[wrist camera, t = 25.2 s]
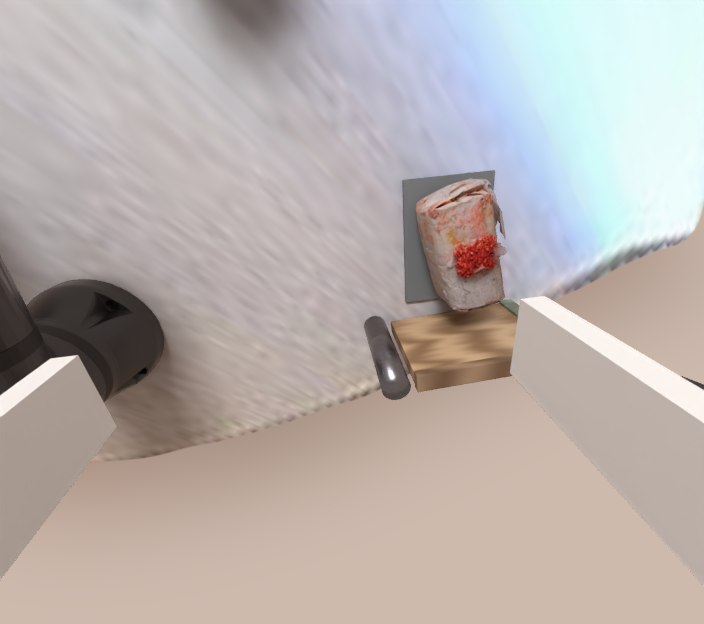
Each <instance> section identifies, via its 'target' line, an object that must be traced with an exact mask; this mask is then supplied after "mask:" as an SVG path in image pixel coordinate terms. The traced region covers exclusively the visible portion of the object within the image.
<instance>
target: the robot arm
mask: <svg viewBox="0 0 704 624" xmlns="http://www.w3.org/2000/svg"><path fill="white" fill-rule="evenodd" d="M163 343H164V342H163V334H162V330H161V327H160V325H159V323H158V321H157V319H156V318H155V316H154V315H153V313H152V312H151V311H150V310H149V308H148V307H147V306H146V305H145V304H144V303H143V302H141V301H140V300H139V299H138V298H136V297H135V296H134V295H132V294H131V293H129V292H127V291H125V290H124V289H121V288H119V287H117V286H115V285H112V284H109V283H105V282H101V281H96V280H72V281H67V282H63V283H61V284H58V285H56V286H54V287H52V288H50V289H47V290H45V291H43V292H42V293H40V294H39V295H37V296H36V297H35V298H33V299H32V300H31V301H30V303H29V304H28V305H27V306H26V305H25V303H24V301H23V299H22V297H21V295H20V293H19V291H18V289H17V288H16V286H15V284H14V282H13V280H12V278H11V276H10V274H9V272H8V270H7V268H6V266H5V264H4V262H3V260H2V258H1V256H0V579H1V578H2V577H3V576H4V574H5V573H6V572H7V571H8V569H9V568H10V567H11V565H12V564H13V563H14V561H15V560H16V559H17V557H18V556H19V554H20V553H21V552H22V551H23V549H24V548H25V547H26V546H27V544H28V543H29V542H30V540H31V539H32V538H33V536H34V535H35V534H36V532H37V531H38V530H39V529H40V527H41V526H42V524H43V523H44V522H45V521H46V519H47V518H48V517H49V515H50V514H51V513H52V511H53V510H54V509H55V508H56V506H57V505H58V504H59V502H60V501H61V500H62V498H63V497H64V496H65V494H66V493H67V492H68V490H69V489H70V488H71V487H72V485H73V484H74V483H75V481H76V480H77V479H78V477H79V476H80V475H81V473H82V472H83V471H84V469H85V468H86V467H87V466H88V464H89V463H90V462H91V460H92V459H93V458H94V456H95V455H96V454H97V452H98V451H99V450H100V448H101V447H102V446H103V445H104V443H105V442H106V441H107V439H108V438H109V437H110V435H111V434H112V433H113V431H114V430H115V429H116V427H117V426H116V424H115V422H114V420H113V419H112V417H111V415H110V413H109V411H108V409H107V407H106V406H105V404H104V402H105V401H106V400H107V399H109V398H111V397H112V396H114V395H116V394H118V393H120V392H122V391H124V390H125V389H127V388H129V387H131V386H133V385H135V384H136V383H138V382H140V381H141V380H142V379H144V378H145V377H146V376H147V375H148V374H149V373H150V372H151V370H152V369H153V368H154V367H155V365H156V364H157V363H158V361H159V359H160V357H161V355H162V352H163ZM510 374H511V375H512V376H513V377H514V378H515V379H516V380H517V381H518V382H519V384H520V385H521V386H522V387H523V388H524V389H525V390H526V391H527V392H528V393H529V395H531V397H532V398H533V399H534V400H535V401H536V402H537V403H538V404H539V406H540V407H541V408H542V409H543V410H544V411H545V412H546V413H547V414H548V415H549V416H550V418H551V419H552V420H553V421H554V422H555V423H556V424H557V425H558V426H559V427H560V428H561V430H562V431H563V432H564V433H565V434H566V435H567V436H568V437H569V438H570V439H571V441H572V442H573V443H574V444H575V445H576V446H577V447H578V448H579V449H580V450H581V452H582V453H583V454H584V455H585V456H586V457H587V458H588V459H589V460H590V461H591V463H592V464H593V465H594V466H595V467H596V468H597V469H598V470H599V471H600V473H601V474H602V475H603V476H604V477H605V478H606V479H607V480H608V481H609V482H610V484H611V485H612V486H613V487H614V488H615V489H616V490H617V491H618V492H619V493H620V494H621V495H622V497H623V498H624V499H625V500H626V501H627V502H628V503H629V504H630V505H631V506H632V508H633V509H634V510H635V511H636V512H637V513H638V514H639V515H640V516H641V518H642V519H643V520H644V521H645V522H646V523H647V524H648V525H649V526H650V527H651V529H652V530H653V531H654V532H655V533H656V534H657V535H658V536H659V537H660V538H661V539H662V541H663V542H664V543H665V544H666V545H667V546H668V547H669V548H670V549H671V551H672V552H673V553H674V554H675V555H676V556H677V557H678V558H679V559H680V560H681V561H682V563H683V564H684V565H685V566H686V567H687V568H688V569H689V570H690V571H691V572H692V574H693V575H694V576H695V577H696V578H697V579H698V580H699V581H700V582H701V583H702V585H703V586H704V385H703V384H701V383H698V382H695V381H693V380H690V379H688V378H685V377H683V376H679V375H677V374H676V373H674V372H672V371H670V370H669V369H667V368H665V367H664V366H662V365H660V364H659V363H657V362H655V361H653V360H652V359H650V358H648V357H647V356H645V355H643V354H642V353H640V352H638V351H637V350H635V349H633V348H632V347H630V346H628V345H626V344H625V343H623V342H621V341H620V340H618V339H616V338H615V337H613V336H611V335H610V334H608V333H606V332H604V331H602V330H601V329H599V328H598V327H596V326H594V325H593V324H591V323H589V322H588V321H586V320H584V319H582V318H581V317H579V316H577V315H576V314H574V313H572V312H570V311H569V310H567V309H565V308H564V307H562V306H560V305H559V304H557V303H555V302H554V301H552V300H550V299H549V298H547V297H545V296H541V297H533V298H525V299H520V305H519V312H518V319H517V326H516V333H515V340H514V347H513V354H512V361H511V368H510Z"/></svg>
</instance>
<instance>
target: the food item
mask: <svg viewBox="0 0 704 624" xmlns="http://www.w3.org/2000/svg"><path fill="white" fill-rule="evenodd" d="M491 186H492V185H491V184H490V182H489V181H488V180H486V179H472V178H470V179H468V180H463V181H460V182H457V183H453V184H450V185H448V186H446V187H443V188H441V189H439V190H437V191H436V192H434V193H432V194H430V195H428V196H426V197H424V198H423V199H421V200H420V201H419V202H418V203H416V207H415V210H416V218H417V223H418V228H419V233H420V237H421V241H422V245H423V249H424V253H425V256H426V259H427V264H428V267H429V270H430V275H431V279H432V282H433V286H434V289H435V292H436V293H437V296H439V297H440V298H441V299H442V300H443V301H445V302H446V303H447V304H448V305H449V307H451V308H452V309H453V310H456V311H458V312H470V311H471V310H473V309H478V308H484V307H487V306H489V305H492V304H495V303H497V302H499V301H501V300H502V299H504V298H505V295H504V290H503V281H502V273H501V266H500V259H499V257H500V255H504V254H505V253H507V251H506V249H505V247H503V246H501V244H500V243H497V235H496V229H495V226H496V224H497V221H499V223H500V232H501V233H502V234H503V236H504V238H505V232H504V223H503V218H502V211H501V210H500V208H499V206H498V204H497V201H496V197H495V194H494V192H493V191H492V189H491ZM498 246H500V247H498Z"/></svg>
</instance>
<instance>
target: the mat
mask: <svg viewBox="0 0 704 624" xmlns="http://www.w3.org/2000/svg"><path fill="white" fill-rule="evenodd" d="M494 176H495V171H494V170H493V171H484V172H474V173H465V174H456V175H446V176H437V177H428V178H418V179H409V180H403V220H404V262H405V301H406V302H414V301H422V300H430V299H438V298H440V297H439V296H437V293H436V292H435V289H434V286H433V282H432V279H431V275H430V270H429V267H428V264H427V259H426V256H425V253H424V249H423V245H422V241H421V237H420V233H419V228H418V223H417V218H416V210H415V207H416V203H418V202H419V201H420V200H421V199H423V198H424V197H426V196H428V195H430V194H432V193H434V192H436V191H437V190H439V189H441V188H443V187H446V186H448V185H450V184H453V183H457V182H460V181H463V180H468V179H470V178H472V179H486V180H488V181H489V182H490V184H491V185H492V186H491V189H492V191H493V187H494Z"/></svg>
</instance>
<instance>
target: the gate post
mask: <svg viewBox="0 0 704 624" xmlns="http://www.w3.org/2000/svg"><path fill="white" fill-rule="evenodd" d="M364 328H365V332H366V335H367V339H368V343H369V346H370V350H371V353H372V357H373V361H374V364H375V368H376V371H377V375H378V379H379V382H380V386H381V389H382V392H383V395H384V396H385V397H386V398H389V399H391V400H397V399H401V398H403V397H405V396H406V395H407V394H408V393H409V391H410V387H411V385H410V382H409V379H408V377H407V374H406V372H405V370H404V367H403V365H402V362H401V360H400V358H399V355H398V353H397V350H396V348H395V346H394V343H393V341H392V338H391V336H390V334H389V331H388V329H387V326H386V324H385V322H384V320H383V319H382V318H381V317H378V316H373V317H370V318H369V319H367V320H366V322H365V325H364Z"/></svg>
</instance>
